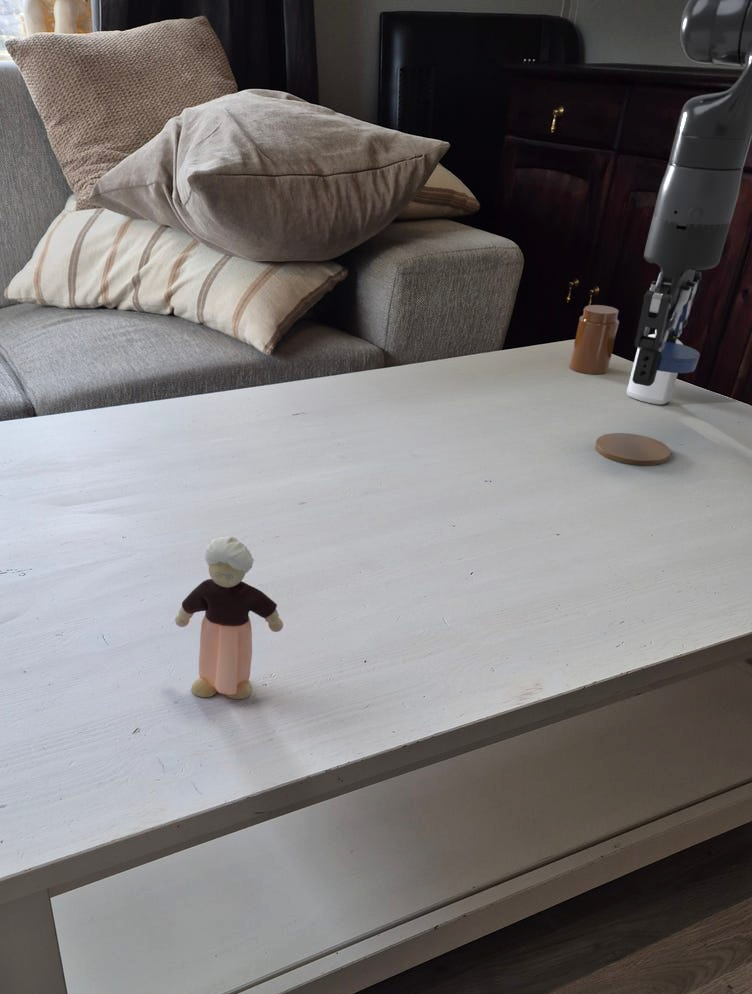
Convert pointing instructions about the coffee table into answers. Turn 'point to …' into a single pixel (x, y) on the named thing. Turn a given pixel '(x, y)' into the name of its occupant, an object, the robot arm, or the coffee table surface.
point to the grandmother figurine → (226, 620)
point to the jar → (595, 339)
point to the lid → (678, 358)
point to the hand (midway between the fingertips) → (650, 376)
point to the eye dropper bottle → (653, 385)
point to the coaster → (632, 449)
